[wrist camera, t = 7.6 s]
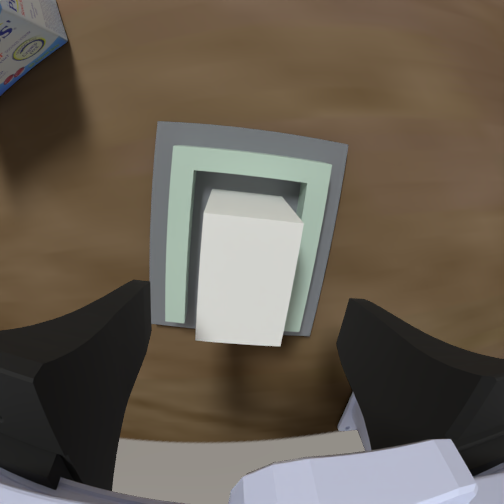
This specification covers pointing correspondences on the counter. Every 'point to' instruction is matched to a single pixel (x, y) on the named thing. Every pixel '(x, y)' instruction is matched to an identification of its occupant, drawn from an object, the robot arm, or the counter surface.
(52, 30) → the medicine box
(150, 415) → the counter surface
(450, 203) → the counter surface
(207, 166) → the frame
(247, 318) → the block
